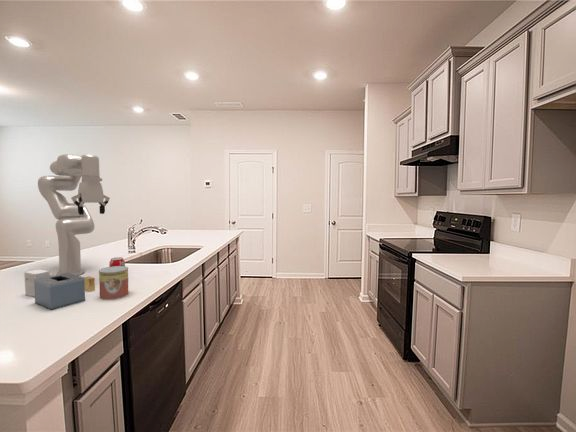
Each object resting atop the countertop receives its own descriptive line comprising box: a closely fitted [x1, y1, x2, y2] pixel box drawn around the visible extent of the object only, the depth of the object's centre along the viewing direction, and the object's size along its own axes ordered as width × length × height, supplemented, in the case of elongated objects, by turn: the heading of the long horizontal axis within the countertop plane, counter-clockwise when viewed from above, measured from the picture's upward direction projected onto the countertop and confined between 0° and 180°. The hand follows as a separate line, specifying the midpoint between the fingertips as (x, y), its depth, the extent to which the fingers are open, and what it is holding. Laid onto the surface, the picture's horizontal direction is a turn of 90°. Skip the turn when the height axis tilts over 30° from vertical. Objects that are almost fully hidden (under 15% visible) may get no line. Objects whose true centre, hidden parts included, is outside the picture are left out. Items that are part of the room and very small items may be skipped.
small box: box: [23, 269, 51, 298], centre depth 127 cm, size 8×6×10 cm
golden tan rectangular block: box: [84, 275, 96, 292], centre depth 134 cm, size 5×2×6 cm, turn 61°
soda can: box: [108, 256, 126, 267], centre depth 149 cm, size 7×7×12 cm
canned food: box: [98, 265, 130, 301], centre depth 128 cm, size 11×11×12 cm
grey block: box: [34, 273, 86, 311], centre depth 119 cm, size 14×12×10 cm
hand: (92, 214), depth 143 cm, fingers open, 9 cm apart
